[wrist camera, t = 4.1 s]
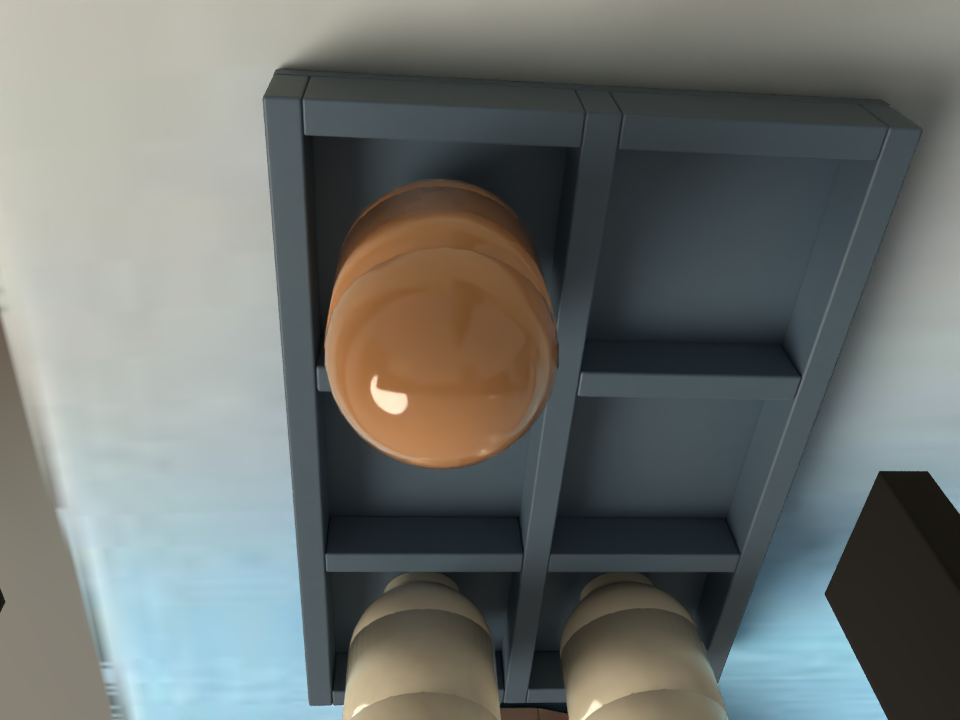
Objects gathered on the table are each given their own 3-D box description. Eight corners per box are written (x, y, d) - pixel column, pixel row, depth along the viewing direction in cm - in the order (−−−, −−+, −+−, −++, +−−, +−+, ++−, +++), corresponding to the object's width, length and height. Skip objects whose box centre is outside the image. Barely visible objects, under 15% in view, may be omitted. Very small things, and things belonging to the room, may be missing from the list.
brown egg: (468, 107, 19) (491, 264, 13) (562, 259, 22) (620, 452, 15) (304, 209, 20) (256, 396, 14) (411, 342, 23) (409, 553, 17)
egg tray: (883, 99, 20) (924, 128, 19) (697, 653, 32) (712, 701, 30) (275, 68, 19) (262, 96, 17) (314, 656, 31) (308, 706, 29)
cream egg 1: (442, 528, 27) (449, 753, 21) (514, 606, 29) (540, 830, 23) (324, 584, 28) (298, 814, 22) (403, 656, 30) (399, 880, 24)
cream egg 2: (650, 529, 27) (717, 748, 21) (704, 606, 30) (779, 823, 24) (526, 584, 29) (555, 807, 22) (587, 654, 31) (630, 873, 25)
